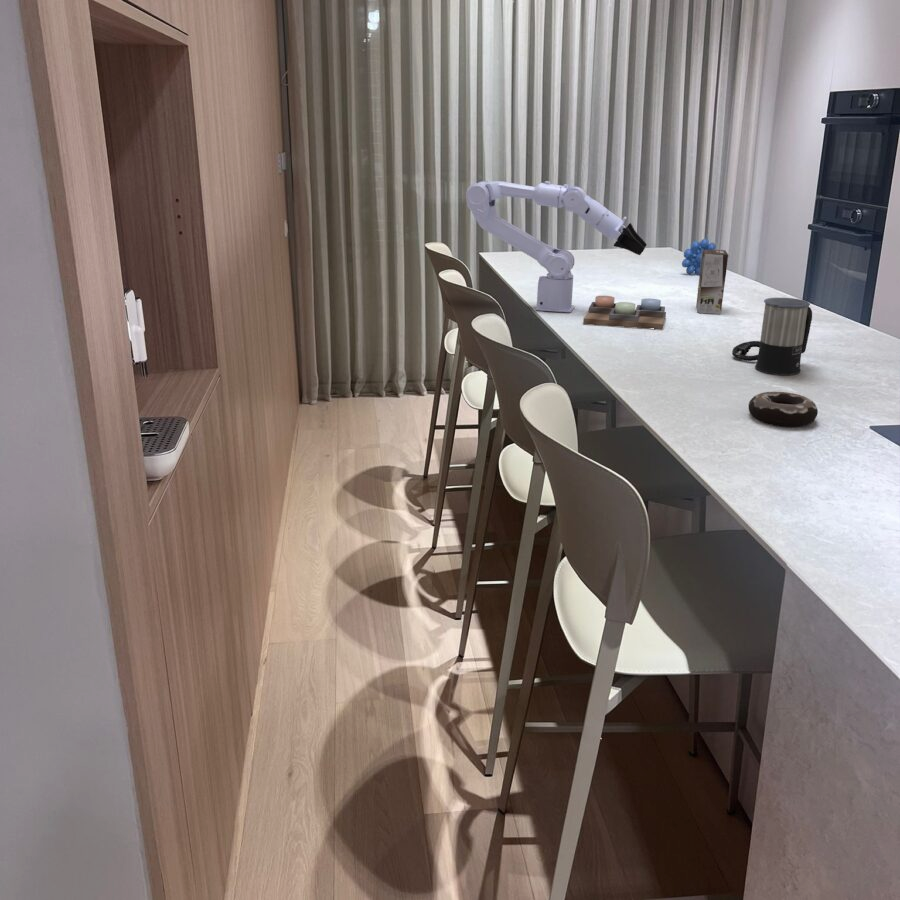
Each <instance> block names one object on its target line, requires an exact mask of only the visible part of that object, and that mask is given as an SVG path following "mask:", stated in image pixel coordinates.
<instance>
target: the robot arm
mask: <svg viewBox="0 0 900 900" xmlns="http://www.w3.org/2000/svg"><path fill="white" fill-rule="evenodd" d="M502 197H503V198H504V197H509V198H518V199H528V200H533V201H534V202H535V203H536V205H537V206H541V207H542V206H544V207H550V208H556V209H561V208H565V211H567V212H571V213H572V212H573V213H575V214H576V215H577V216H579V217H580V218H581V219H582V220H583V221H584V222H586V223H587V224H588V225H590V226H592V227H593V228H594V229H595V230H597V231H598V232H600V233H601V234H602V235H603V236H605V237H606V238H607V239H608V240H609V241H612V240H613V239H614V240H615V242H614V244H613V246H614V247H616V248H621V249H624V250H627V251H629V252H631V253H634V254H635V255H637V256H641V255H642V253H643V252H644V251H645V249H646V247H647V243H646V242H645V240H644V239H643V238H642V237H641V236H640V235H639V234H638V232H637V231H636V230H635V228H634V226H633V224H632V223H631V222H629V224H628V225H627V226H625V225H624V223H625V222H626V220H627V216H624V217H623V218H622V219H621V218H620V217H619V216H618V215H616V214H614V213H613V212H612V211H610V210H609V209H608V208H607V207H605V206H604V205H602V204H601V203H599V202H598V201H597V200H596V199H593V198H592V197H591V196H589V195H588V194H587V193H586V192H585V191H584V189H582V187H579V186H576V185H573V186H570V187H569V184H563V185H560V184H552V183H551V181H548V180H546V181H544V182H541V183H539V184H538V185H536V186H531V185H527V184H526V185H525V184H520V183H514V182H507V181H502V180H501V181H498V180H497V181H496V180H493V181H492V180H491V181H488V180H481V181H479V182H476V183H472V184H471V185H469V186H468V188H467V189H466V192H465V200H466V206H467V207H466V208H468V209H469V210H470V211H471V213H472V215H473V217H474V218H475V220H476V222H477V224H478V225H479V227H480V228H481V229H482V230H484V231H486V232H487V233H489V234H491V235H493V236H494V237H496V238H498V239H499V240H501V241H503V242H504V243H506V244H508V245H510V246H511V247H514V248H515V249H517V250H519V252H522V253H523V254H525V255H527V256H529V257H530V258H532V259H534V260H536V262H537V263H538V264H539V265H540V266H541V267H543V268H544V269H546V271H547V274H546V275H545V276H544V275H541V276H539V277H538V281H537V291H536V292H537V293H536V295H537V297H536V309H535V310H536V311H540V312H541V311H543V312H557V313H558V312H559V313H571V312H572V311H573V310H574V309H575V305H573V304H572V303H573V302H572V301H573V287H574V275H573V273H572V271H571V270H572V269H573V268H574V265H575V257H574V255H573V254H572V252H571V251H569V250H567V249H559V248H557V247H556V246H553V245H549V244H546V243H545V242H543V241H542V240H540V239H538V238H536V237H534V236H532V234H529V233H528V232H527V231H524V230H523V229H521V228H519V227H517V226H515V225H514V224H512V223H511V222H509V221H508V220H506V219H503V218H502V217H500V216H499V215H498V214H497V208H496V200H497V199H499V198H502Z"/></svg>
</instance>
